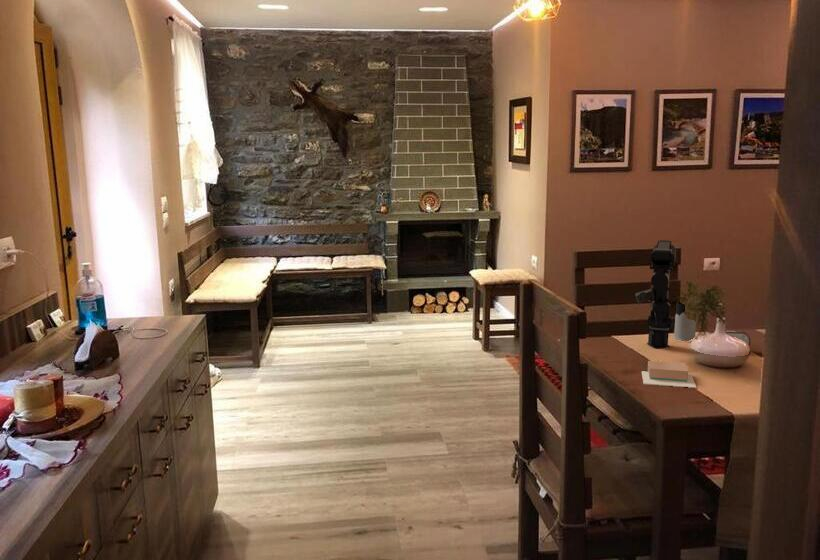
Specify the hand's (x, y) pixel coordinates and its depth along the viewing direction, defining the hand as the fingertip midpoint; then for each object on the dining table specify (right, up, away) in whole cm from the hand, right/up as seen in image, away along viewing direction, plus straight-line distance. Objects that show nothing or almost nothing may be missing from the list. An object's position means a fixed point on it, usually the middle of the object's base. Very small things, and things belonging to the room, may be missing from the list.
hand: (658, 325), depth 245 cm
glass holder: (+20, -7, +28) cm, 35 cm away
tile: (-4, -13, -17) cm, 22 cm away
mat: (-6, -17, -24) cm, 30 cm away
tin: (+30, -11, +8) cm, 32 cm away
